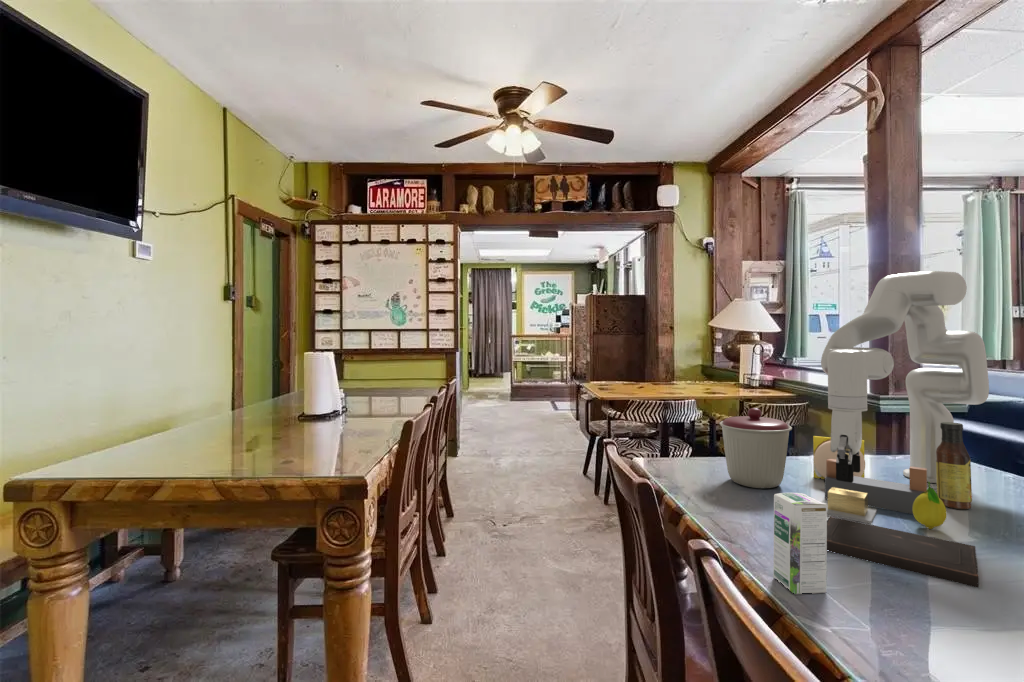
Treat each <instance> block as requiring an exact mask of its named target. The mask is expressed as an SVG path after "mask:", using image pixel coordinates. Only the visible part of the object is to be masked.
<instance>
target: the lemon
mask: <svg viewBox="0 0 1024 682" xmlns="http://www.w3.org/2000/svg"><path fill="white" fill-rule="evenodd" d="M930 484H931V483H930V482H927V487H928V489H927V491H925V492H923V493H921V494H920V495H919V496H918V497H917V498H916V499H915V501H914V503H913V514H912V515H913V517H914V519H915V520H916V521H917V522H918V523H919V524H921V525H922V526H924V527H926V528H927V529H929V530H932V529H933V528H936V527H940V526H942V525H943V524H945V522H946V519H947V515H948V514H947V507H946V506H945V505H944V503H943V502H942V500H941V499H940V498H938V495H937V491H936V490H935V488H932V487H931V485H930Z"/></svg>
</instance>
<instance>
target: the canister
mask: <svg viewBox="0 0 1024 682" xmlns="http://www.w3.org/2000/svg"><path fill="white" fill-rule="evenodd" d="M762 414H763V412H762V411H761V409H759V408H757V407H752V408H749V409H748V410H747V415H743V416H741V415H740V416H731V417H727V418H725V419H724V420H722V421H720V422H719V425H720V427H722V428H721V429H722V438H723V445H724V446H723V447H724V448H723V449H724V455H725V460H726V461H725V462H726V468H727V473H728V475H729V478H730V479H731V481H732V482H734V483H735V484H738V485H740V486H744V487H749V488H753V489H772V488H776V487H778V486H779V485H780V484H781V483H782V481H783V479H784V476H785V469H786V463H787V462H786V461H787V453H788V443H789V438H790V437H789V436H790V431H792V430H793V427H792V426H791V425H789V424H788V423H786V422H785V421H783V420H780V419H777V418H771V417H765V416H762Z"/></svg>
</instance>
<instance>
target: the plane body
mask: <svg viewBox="0 0 1024 682" xmlns="http://www.w3.org/2000/svg"><path fill="white" fill-rule="evenodd" d="M908 469H909V477H908V478H909V484H907V483H901V482H894V481H888V480H880V479H875V478H874V479H873V478H869V477H865V478H863V477H857V476H853V482H852V483H851V482H844V481H838V480H836V459H827V460H826V476H827V477H826V478H825V479H824V499H828V491H829V490H830V489H831V488H832V487H834V488H840V489H846V490H852V491H858V492H863V493H868V507H871V506H873V507H874V508H876V509H882V508H883V510H888V511H894V512H899V513H904V514H910V515H913V503H914V501H915V499H916V498H917V497H918V496H919V495H920V494H921V493H923V492H925V491H927V489H928V482H927V469H926V468H919V467H912V466H910V465H909V468H908ZM873 507H872V508H873Z"/></svg>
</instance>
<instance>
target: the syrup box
mask: <svg viewBox="0 0 1024 682" xmlns="http://www.w3.org/2000/svg"><path fill="white" fill-rule="evenodd" d="M827 520H828V515H827V504H825V503H824V502H821V501H819V500H817V499H815V498H813V497H810V496H808V495H807V494H806V493H801V492H780V493H774V495H773V555H772V556H773V559H772V560H773V563H772V564H773V565H772V566H773V572H772V573H773V574H772V575H773V579H774V578H776V579H777V580H778V582H779V583H780V582H781V583H782V584H783V585H784V586H783V585H782V584H781V583H780V584H781V585H782V586H783V587H784V588H786V589H787V588H788V589H789V591H790V592H791V593H792V594H793V593H794V594H793V595H803V594H802V593H812V594H823V593H824V594H825V593H827V585H828V584H827V577H828V575H827V572H828V571H827V561H828V559H827V558H828V557H827V556H828V551H827ZM777 580H776V581H777ZM788 589H787V590H788Z"/></svg>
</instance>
